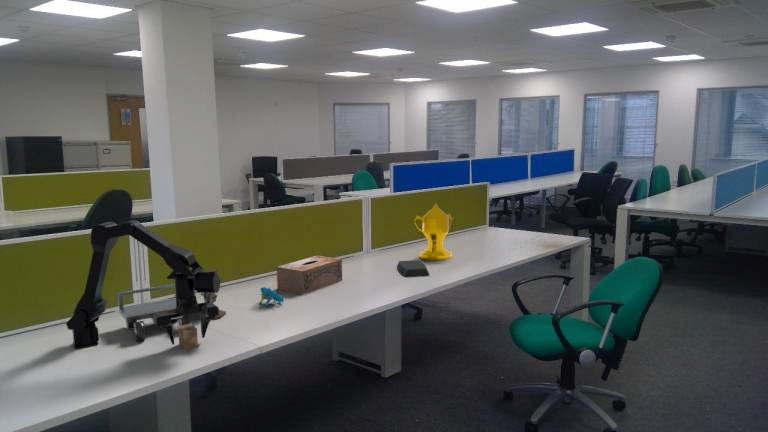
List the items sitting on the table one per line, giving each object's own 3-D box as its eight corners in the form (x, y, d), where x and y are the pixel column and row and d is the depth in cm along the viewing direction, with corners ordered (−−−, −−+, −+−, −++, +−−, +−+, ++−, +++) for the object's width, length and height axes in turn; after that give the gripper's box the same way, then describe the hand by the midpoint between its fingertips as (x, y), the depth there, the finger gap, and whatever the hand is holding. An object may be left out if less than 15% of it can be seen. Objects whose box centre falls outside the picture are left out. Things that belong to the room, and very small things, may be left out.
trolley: (132, 344, 177) (129, 306, 175) (120, 327, 193) (117, 292, 191) (196, 331, 188) (194, 295, 187) (180, 316, 204) (178, 283, 203)
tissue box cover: (317, 276, 260) (317, 255, 258) (342, 281, 252) (341, 259, 250) (277, 289, 239) (276, 266, 237) (302, 295, 231) (302, 271, 229)
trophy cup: (406, 256, 300) (405, 203, 295) (442, 250, 312) (443, 200, 308) (425, 262, 285) (425, 207, 281) (463, 256, 297) (463, 203, 293)
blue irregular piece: (289, 300, 217) (272, 285, 211) (282, 313, 214) (264, 299, 209) (273, 298, 225) (255, 284, 219) (265, 311, 222) (247, 297, 216)
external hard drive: (421, 266, 277) (421, 258, 277) (431, 276, 258) (431, 267, 258) (395, 268, 275) (395, 260, 275) (403, 278, 256) (403, 269, 256)
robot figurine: (190, 316, 204) (188, 284, 202) (211, 310, 212) (210, 278, 210) (208, 322, 198) (206, 289, 196) (230, 315, 205) (228, 283, 203)
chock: (184, 350, 172) (183, 331, 171) (179, 344, 177) (178, 326, 176) (198, 347, 174) (196, 328, 174) (192, 341, 179) (191, 323, 178)
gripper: (160, 304, 161) (163, 356, 164) (223, 292, 172) (226, 342, 174) (150, 295, 171) (154, 344, 173) (212, 285, 181) (214, 331, 183)
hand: (188, 340), depth 176 cm, fingers open, 9 cm apart
